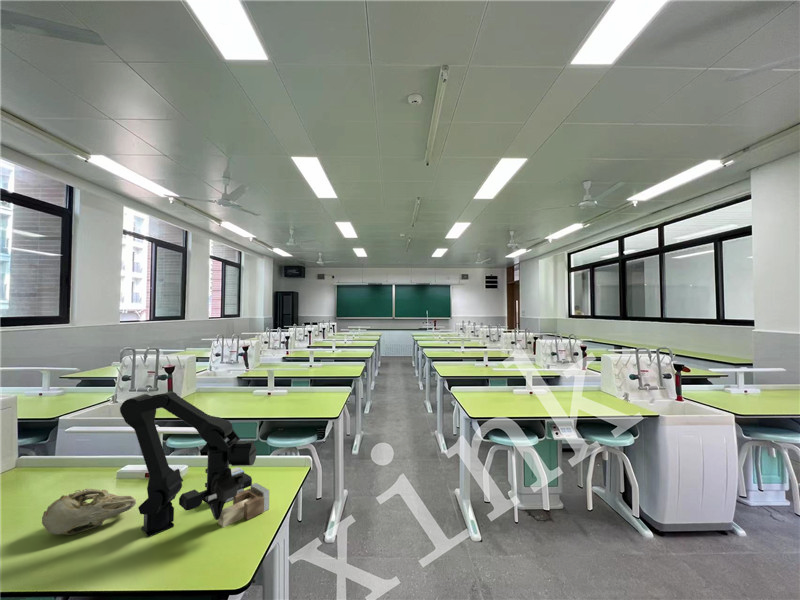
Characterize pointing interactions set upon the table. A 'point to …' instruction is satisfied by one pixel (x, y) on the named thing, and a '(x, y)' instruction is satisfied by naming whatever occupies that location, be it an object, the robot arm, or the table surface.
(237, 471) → the medicine box
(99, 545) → the table surface
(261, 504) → the cradle
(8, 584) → the table surface
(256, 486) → the wall
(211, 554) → the table surface
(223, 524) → the block
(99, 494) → the skull
